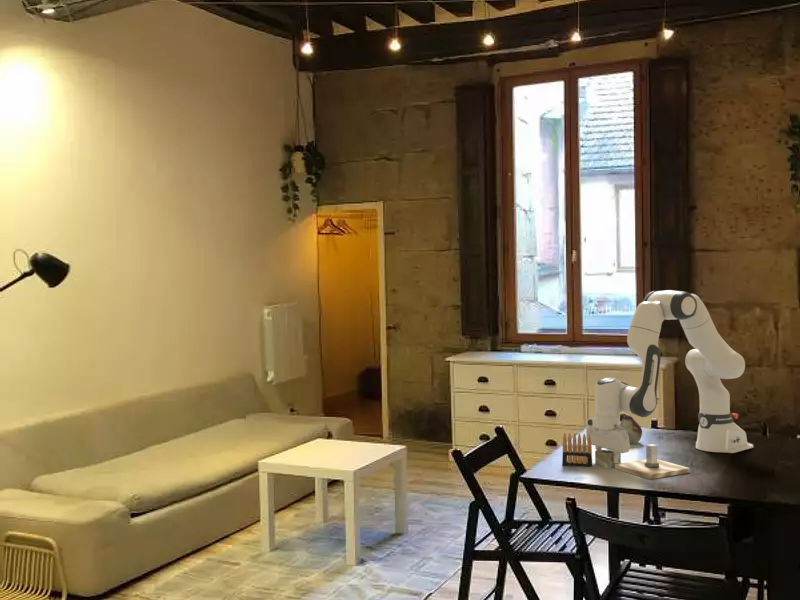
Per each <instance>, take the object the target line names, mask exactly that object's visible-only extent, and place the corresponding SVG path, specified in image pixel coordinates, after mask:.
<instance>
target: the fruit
mask: <svg viewBox="0 0 800 600" xmlns="http://www.w3.org/2000/svg"><path fill="white" fill-rule="evenodd" d="M620 426H622V427H625V429H626V430H627V432H628V436H629V443H630V444H635V445H636V444H637V443H639V442H641V441H640V440H641V439H642V436H643V429H642V427H641V425H640V424H639V423H638V422H637V421H636V420H635V419H634V418H633V416H631V415H626V414H623V418H622V419H621V420H620Z"/></svg>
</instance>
